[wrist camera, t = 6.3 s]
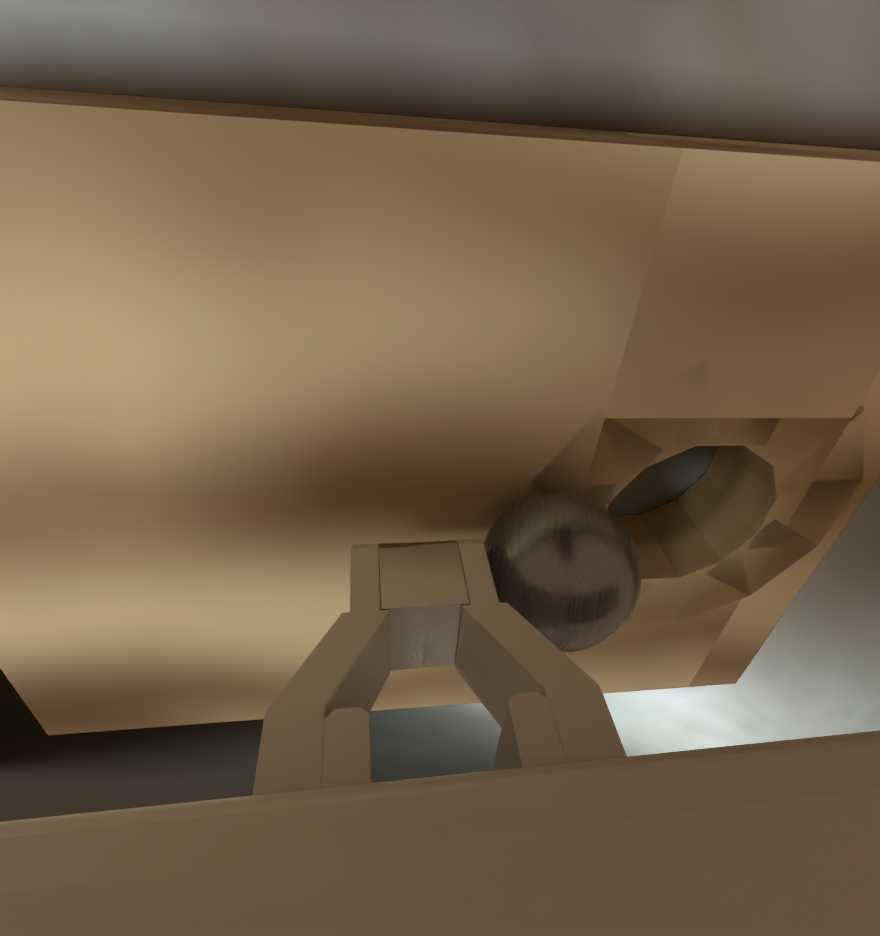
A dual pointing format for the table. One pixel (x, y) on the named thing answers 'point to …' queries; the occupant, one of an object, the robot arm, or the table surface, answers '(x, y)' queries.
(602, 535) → the ball
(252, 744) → the table surface
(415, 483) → the wooden board
